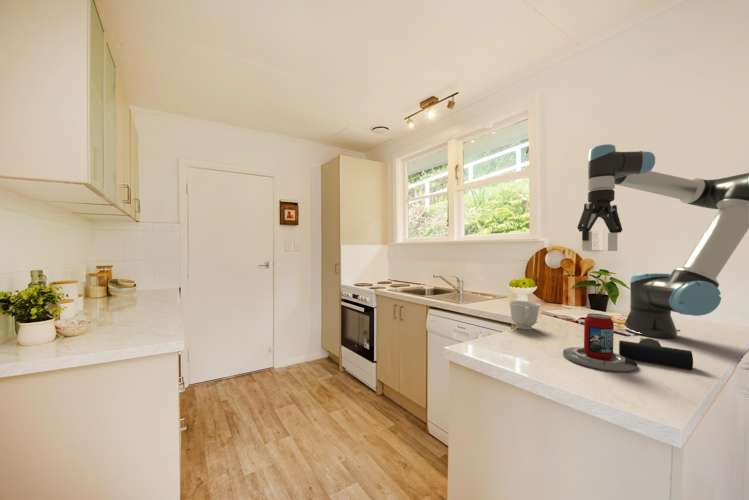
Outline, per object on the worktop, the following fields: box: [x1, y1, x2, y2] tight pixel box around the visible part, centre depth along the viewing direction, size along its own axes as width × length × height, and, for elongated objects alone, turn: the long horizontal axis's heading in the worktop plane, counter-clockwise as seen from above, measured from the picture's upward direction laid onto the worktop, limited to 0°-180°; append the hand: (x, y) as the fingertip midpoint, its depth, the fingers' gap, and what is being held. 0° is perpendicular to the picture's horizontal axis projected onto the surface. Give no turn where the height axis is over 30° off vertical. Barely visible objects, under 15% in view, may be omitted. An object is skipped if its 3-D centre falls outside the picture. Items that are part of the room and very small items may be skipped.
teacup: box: [507, 300, 542, 330], centre depth 121 cm, size 12×15×10 cm
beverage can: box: [583, 312, 615, 360], centre depth 87 cm, size 7×7×12 cm
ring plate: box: [562, 346, 638, 374], centre depth 87 cm, size 17×17×2 cm
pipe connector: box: [618, 337, 694, 371], centre depth 89 cm, size 12×5×15 cm
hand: (600, 250), depth 106 cm, fingers open, 13 cm apart
